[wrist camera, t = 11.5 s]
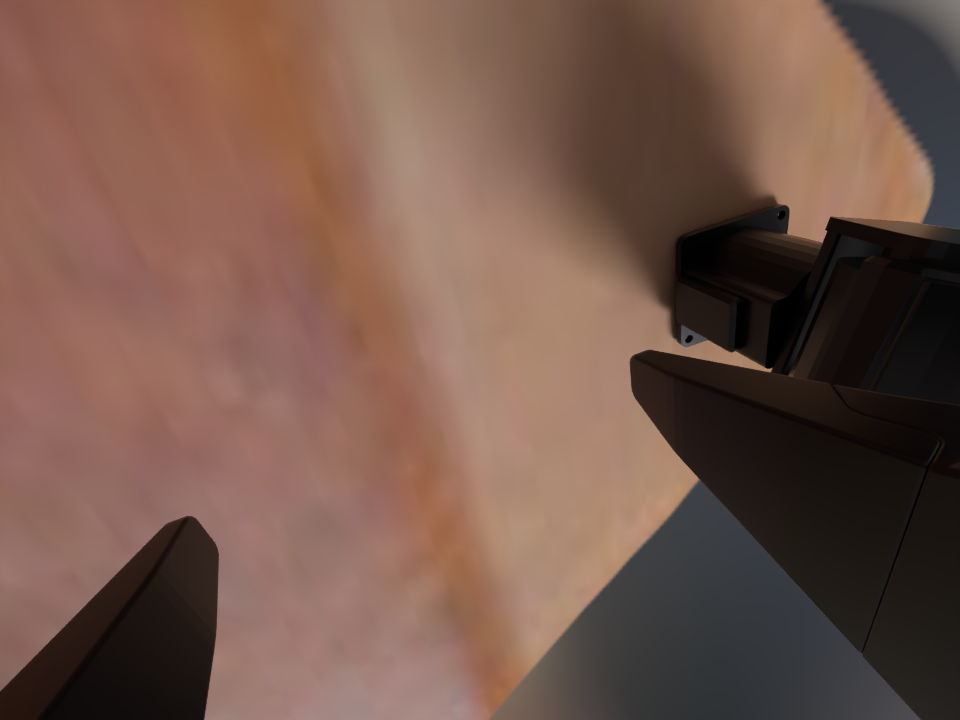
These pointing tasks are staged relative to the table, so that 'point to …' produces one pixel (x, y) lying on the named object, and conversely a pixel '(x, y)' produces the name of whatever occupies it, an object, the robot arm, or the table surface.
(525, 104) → the table surface
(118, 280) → the table surface
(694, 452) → the robot arm
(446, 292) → the table surface
